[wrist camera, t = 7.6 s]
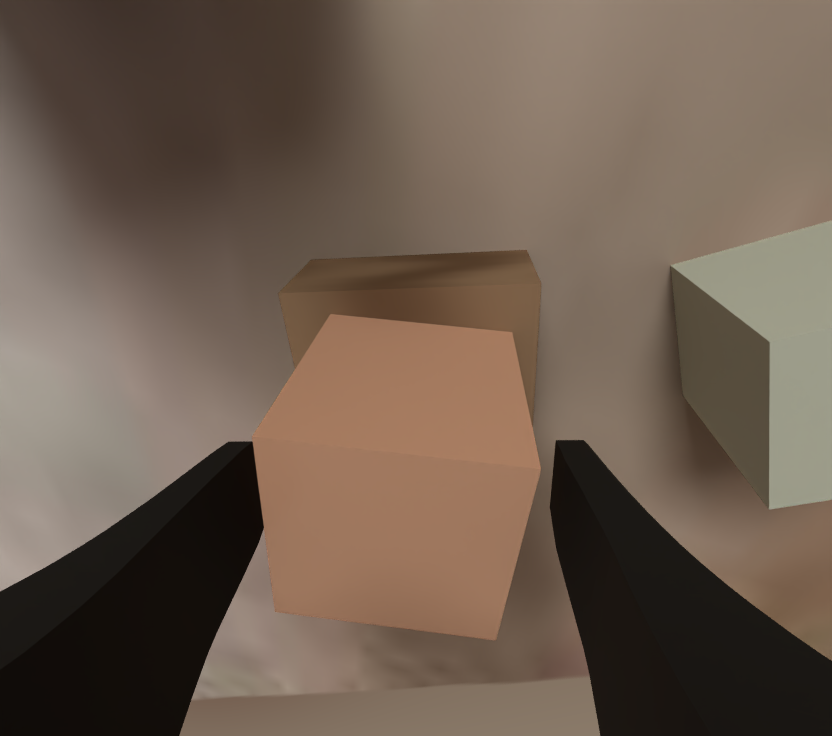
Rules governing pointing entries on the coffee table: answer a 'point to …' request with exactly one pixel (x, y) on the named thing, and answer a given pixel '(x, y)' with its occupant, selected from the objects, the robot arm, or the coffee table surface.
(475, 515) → the terracotta cube
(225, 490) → the robot arm
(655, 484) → the coffee table surface
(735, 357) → the sage cube
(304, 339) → the walnut base
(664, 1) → the coffee table surface
